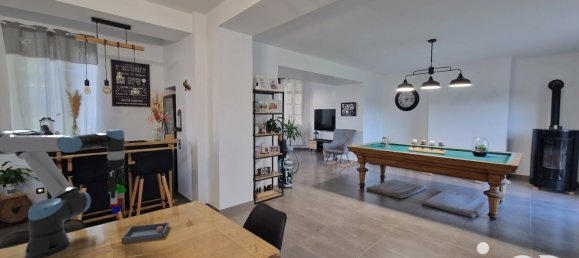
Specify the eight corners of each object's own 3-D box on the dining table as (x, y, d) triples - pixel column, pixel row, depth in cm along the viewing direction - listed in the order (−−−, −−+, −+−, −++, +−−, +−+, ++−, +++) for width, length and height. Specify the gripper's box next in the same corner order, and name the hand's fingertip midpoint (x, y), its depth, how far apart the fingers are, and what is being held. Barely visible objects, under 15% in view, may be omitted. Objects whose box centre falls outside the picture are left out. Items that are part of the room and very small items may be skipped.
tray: (121, 244, 122) (121, 238, 122) (131, 231, 135) (131, 226, 135) (163, 238, 127) (163, 233, 127) (168, 227, 140) (168, 222, 140)
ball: (155, 234, 131) (155, 228, 130) (157, 231, 134) (157, 225, 134) (162, 233, 131) (162, 227, 131) (164, 230, 135) (164, 224, 135)
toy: (119, 215, 125) (118, 187, 124) (105, 214, 126) (104, 186, 125) (130, 209, 133) (129, 182, 132) (116, 209, 133) (115, 182, 132)
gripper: (116, 162, 119) (117, 207, 120) (131, 155, 138) (132, 194, 140) (98, 162, 117) (99, 208, 118) (116, 155, 137) (117, 194, 138)
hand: (117, 200), depth 129 cm, fingers closed on toy, 8 cm apart
